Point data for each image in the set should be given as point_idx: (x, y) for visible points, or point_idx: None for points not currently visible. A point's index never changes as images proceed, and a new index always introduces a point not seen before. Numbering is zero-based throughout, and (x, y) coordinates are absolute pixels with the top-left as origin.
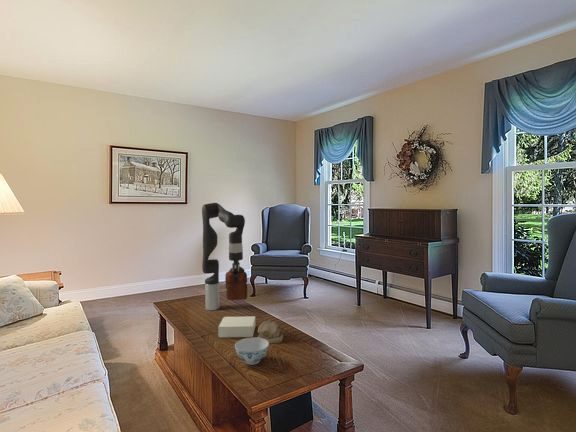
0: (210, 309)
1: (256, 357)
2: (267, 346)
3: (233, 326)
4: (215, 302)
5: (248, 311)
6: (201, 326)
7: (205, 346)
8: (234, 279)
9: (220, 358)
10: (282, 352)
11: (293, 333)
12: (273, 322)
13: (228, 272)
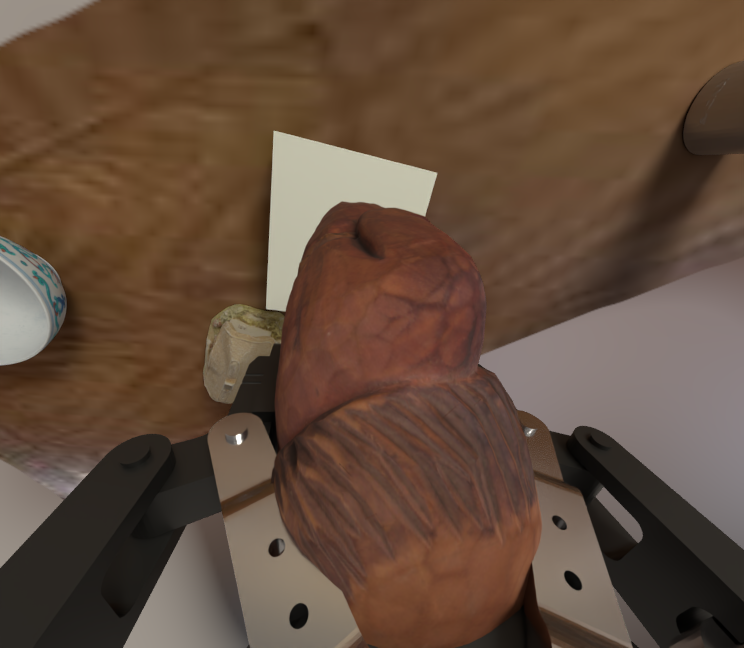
0: (701, 96)
1: None
2: None
3: (271, 221)
4: (732, 125)
5: (561, 291)
6: (467, 26)
7: (159, 51)
8: (263, 380)
9: (17, 139)
10: (128, 370)
11: None
12: (219, 397)
13: (365, 360)
